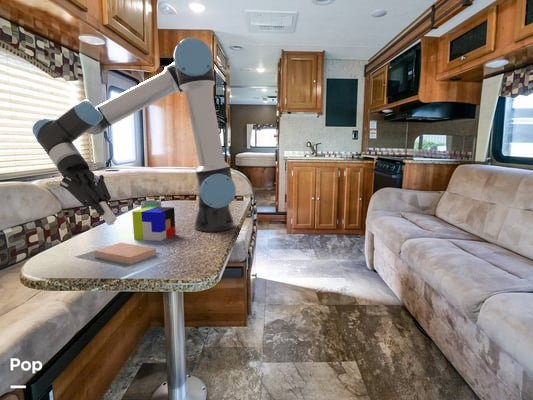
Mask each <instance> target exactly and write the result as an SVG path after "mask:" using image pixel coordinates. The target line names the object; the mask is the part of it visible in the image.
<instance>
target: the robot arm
mask: <svg viewBox="0 0 533 400" xmlns="http://www.w3.org/2000/svg"><path fill="white" fill-rule="evenodd" d="M172 57H173V62H172V63H171V64H169V65H167V66H164V69H163V71H162V72H160V73H158V74H157V75H155V76H152V77H151V78H149V79H146V80H145V81H143V82H140V83H139V84H138V85H135V86H132V87H131V88H130V89H127V90H126V91H123V92H121V93H120V94H118V95H115V96H113V97H112V98H110V99H108V100H106V101H104V102H102V103H100V104H98V105H94V103H92V102H91V101H90V100H89V99H83V100H82V101H80V102H78V103H76V104H75V105H74V106H73V107H72V108H70V109H68V110H67V111H66V112H65V113H63V114H62V115H61V116H59V117H58V118H56V119H53V118H51V117H45V118H43V119H39V120H37V121H36V122H35V123H34V124H33V126H32V133H33V135H34V137H35V138H36V140H37V141H36V142H38V144H39V145H40V146H41V147H42V149H43V150H44V151H45V153H46V154H47V156H48V157H49V159H50V160H51V161H52V163H53V165H54V166H55V167H56V168H57V170H58V172H59V173H60V174H61V175H62V176H61V177H63V178H62V179H61V181H60V183H59V186H60V187H62V188H64V189H65V190H67V191H68V192H69V194H71V195H72V196H73V197H74V198H75V199H76V200H78V202H80V204H81V205H83V206H84V207H85V208H89V207H90V209H91V211H94V210H95V212H96V213H97V215H98V216H101V217H102V218H103V221H105V224H107V226H112V225H113V226H114V224H115V222H116V221H117V220H118V218H117V217H116V215H115V214H114V212H113V208H112V207H111V206H110V204H109V202H110V201H111V199H112V196H111V195H110V192H109V189H108V187H107V185H106V182H105V176H104V175H103V174H100V175H95V173H94V172H93V171H92V170H90V167H89V164H88V161H86V160H85V158H84V157H83V156H82V154H81V152H79V150H78V149H77V147H76V146H75V144H74V143H73V142H74V141H76V140H77V139H79V138H80V137H81V136H82V135H84V134H88V135H93V136H94V135H99V134H101V133H103V132H105V130H106V129H108V128H109V127H111V126H113V125H115V124H116V123H118V122H121V121H123V120H124V119H127V118H128V117H130V116H132V115H134V114H135V113H138V112H140V111H141V110H143V109H145V108H147V107H149V106H151V105H153V104H155V103H157V102H159V101H160V100H163V99H165V98H166V97H169V96H170V95H172V94H174V93H178V94H180V93H183V92H184V93H185V97H186V103H187V107H188V108H187V109H188V114H189V118H190V119H189V120H190V124H191V129H192V130H191V131H192V133H193V140H194V144H195V145H194V146H195V148H196V149H195V150H196V155H197V159H198V167H197V168H196V170H195V173H196V179H197V193H198V194H197V195H198V196H197V198H198V200H197V201H198V210H197V213H196V217H195V221H194V229H195V230H197V231H200V232H209V233H210V232H211V233H212V232H215V233H216V232H223V231H224V232H225V231H229V230H231V229H234V227H235V223H234V219H233V215H232V212H231V210H230V204H231V203H232V202H233V201H234V199H235V196H236V192H237V190H236V189H237V188H236V185H235V182H234V180H233V176H232V171H231V166H230V164H229V163H227V161H225V157H224V151H223V147H222V146H223V145H222V140H221V136H220V129H219V123H218V118H217V117H218V116H217V113H216V112H217V111H216V107H215V102H214V101H215V100H214V94H213V90H212V89H213V87H214V86H215V84H216V82H215V81H216V80H215V74H214V67H213V62H214V56H213V52H212V50H211V48H210V47H209V45H208V44H207V43H206V42H205V41H203V40H201V39H200V38H196V37H185V38H183V39H182V40H180V41H179V42H178V43H177V45H176V46H175V49H174V51H173V56H172Z"/></svg>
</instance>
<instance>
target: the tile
mask: <svg viewBox="0 0 533 400" xmlns="http://www.w3.org/2000/svg"><path fill="white" fill-rule="evenodd" d="M93 251H94V254H95V258H100V259H105V260H110V261H114V262H119V263H124V264H129V265H131V266H133V265H135V264H134V263H136V264H138V263H140V261H141V262H143V261H142V260H144V261H146V260H148V259H147V258H149V259H150V257H151V258H154V257H156V256H155V255H156V252H157V247H150V246H144V245H139V244H131V243H126V242H117V243H114V244H112V245H107V246H105V247H102V248H98V249H95V250H93ZM153 256H154V257H153ZM145 259H146V260H145ZM137 262H138V263H137ZM132 264H133V265H132Z"/></svg>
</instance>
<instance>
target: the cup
mask: <svg viewBox="0 0 533 400" xmlns="http://www.w3.org/2000/svg"><path fill="white" fill-rule="evenodd" d="M146 207H163V205H162V200H159V199H151V200H143V201H141V202H140V209H143V208H146Z"/></svg>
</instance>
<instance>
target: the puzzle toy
mask: <svg viewBox="0 0 533 400" xmlns="http://www.w3.org/2000/svg"><path fill="white" fill-rule="evenodd" d="M175 213H176V212H175V207H174V206H173V207H172V206H171V207H170V206H169V207H167V206H164V207H163V206H162V207H146V208H143V209H141V208H140V209H136V210H133V211H132V226H133V227H132V228H133V239H134V240H141V241H142V240H143V241H145V240H146V241H160V242H161V241H163V240H166V239H170V238H172V237H174V236H176V235H177V234H176V220H175V219H176V218H175Z"/></svg>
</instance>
